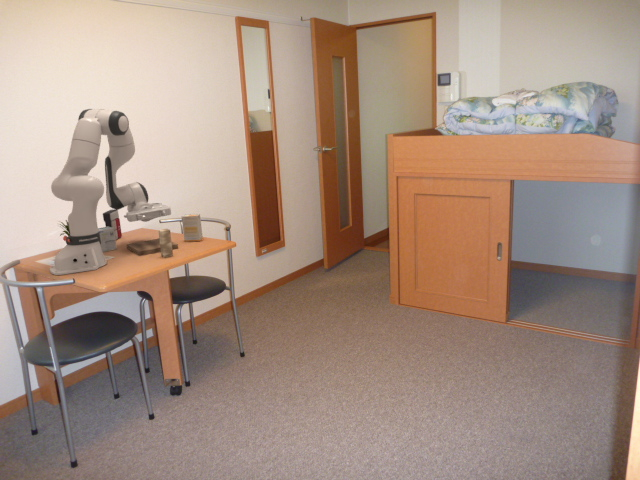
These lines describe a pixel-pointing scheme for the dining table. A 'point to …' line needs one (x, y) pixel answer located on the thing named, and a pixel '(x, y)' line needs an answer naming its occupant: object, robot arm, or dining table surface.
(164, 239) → the beech block
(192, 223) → the supplement box
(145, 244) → the walnut board
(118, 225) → the packaged product box
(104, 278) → the dining table surface
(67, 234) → the house plant
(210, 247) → the dining table surface
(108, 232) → the light bulb box
